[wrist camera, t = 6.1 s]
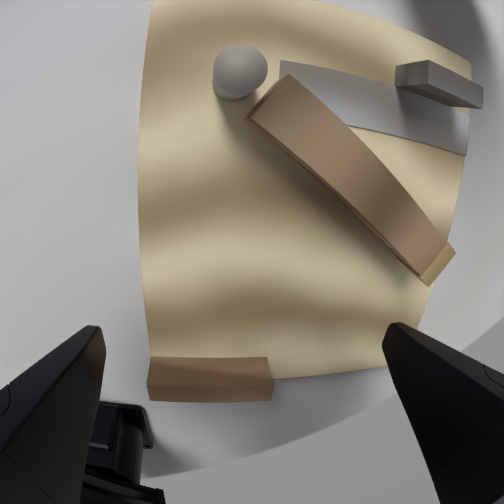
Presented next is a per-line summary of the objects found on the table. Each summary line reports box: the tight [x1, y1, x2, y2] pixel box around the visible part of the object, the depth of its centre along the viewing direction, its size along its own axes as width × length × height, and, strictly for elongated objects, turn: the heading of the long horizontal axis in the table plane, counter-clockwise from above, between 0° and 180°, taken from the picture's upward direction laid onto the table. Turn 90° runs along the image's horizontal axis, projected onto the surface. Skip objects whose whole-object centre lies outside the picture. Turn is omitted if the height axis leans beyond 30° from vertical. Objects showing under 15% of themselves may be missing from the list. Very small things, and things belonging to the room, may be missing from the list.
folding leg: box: [244, 74, 456, 287], centre depth 13 cm, size 12×2×3 cm, turn 51°
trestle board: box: [138, 0, 483, 402], centre depth 14 cm, size 22×18×5 cm
